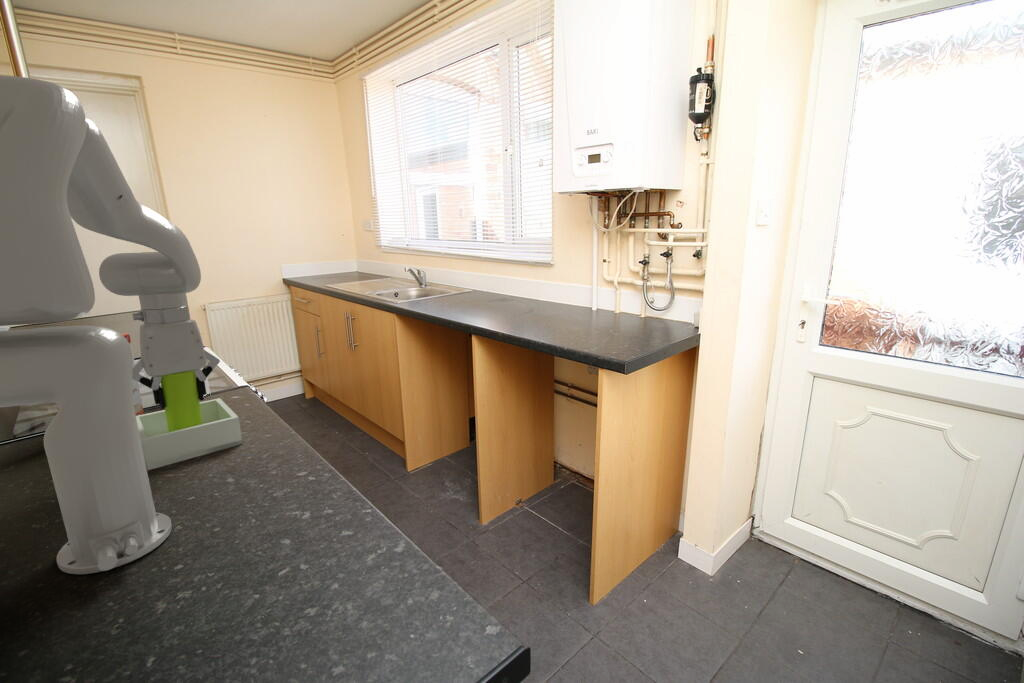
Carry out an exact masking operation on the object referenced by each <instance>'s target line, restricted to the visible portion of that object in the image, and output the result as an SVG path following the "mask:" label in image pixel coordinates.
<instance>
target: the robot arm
mask: <svg viewBox="0 0 1024 683" xmlns="http://www.w3.org/2000/svg"><path fill="white" fill-rule="evenodd" d="M73 221H74V222H75V223H76V225H78V226H80V227H82V228H84V229H86V230H89V231H90V232H94V233H96V234H99V235H103V236H106V237H110V238H112V239H113V238H114V239H117V240H121V241H125V242H129V243H132V244H137V245H140V246H144V247H147V248H149V249H152V250H154V251H145V252H122V253H121V252H120V253H114V254H112V255H108V256H107V257H106V258H104V259H103V260H102V262H101V263H100V266H99V269H98V276H99V280H100V282H101V284H102V286H103V287H104V288H105V289H106V290H108V291H109V292H110V293H113V294H115V295H117V296H125V297H135V296H138V299H139V304H140V310H139V311H137V312H136V313H131V314H132V320H133V321H141V322H143V323H142V324H140V326H139V346H140V356H141V357H140V358H139V360H138V361H137V362H136V363H135V365H134V367H133V358H132V351H133V350H132V351H131V347H130V344H129V342H128V341H127V339H126V338H125V337H124V336H123V335H122V334H120V333H121V332H119V331H117V330H115V329H111V328H109V327H105V326H100V325H99V326H98V325H65V326H63V325H61V326H48V327H36V328H35V327H34V328H28V329H25V328H23V329H13V330H12V329H9V330H0V408H7V407H8V408H9V407H18V406H26V405H27V406H29V405H38V404H56V403H59V404H60V410H59V412H58V411H57V414H55V416H54V418H53V419H52V420H51V422H50V423H49V424H48V426H47V428H46V429H45V432H44V436H43V447H44V451H45V455H46V458H47V462H48V465H49V469H50V470H49V471H50V474H51V477H52V480H53V481H52V482H53V486H54V489H55V494H56V498H57V500H58V501H57V502H58V504H59V508H60V512H61V517H62V520H63V525H64V527H65V528H64V529H65V531H66V535H67V536H66V537H67V539H68V541H67V542H66V543H65V544H64V545H62V547H61V548H60V550H59V551H58V552H57V555H56V564H57V567H58V569H59V570H61V572H64V573H65V574H72V575H89V574H95V573H100V572H106V571H109V570H112V569H115V568H117V567H121V566H124V565H126V564H129V563H132V562H133V561H135V560H137V559H141V558H142V557H143V556H145V555H147V554H149V553H151V552H152V551H153V550H155V549H156V548H158V547H159V546H160V545H161V544H162V543H163V542H164V541H166V539H167V538H168V537H169V536H170V533H171V531H172V530H173V528H172V527H173V525H172V520H171V518H170V517H169V516H168V515H167V514H164V513H161V512H156V507H155V503H154V499H153V493H152V488H151V483H150V479H149V475H148V469H147V467H146V464H145V459H144V454H143V449H142V444H141V439H140V435H139V430H138V425H137V420H136V415H135V409H134V401H133V388H132V379H133V380H135V381H138V383H139V384H141V385H143V386H145V387H147V388H149V389H151V390H152V394H153V400H154V405H155V406H156V405H159V407H160V408H161V410H162V409H163V410H165V407H166V405H165V399H164V394H163V389H162V387H161V378H162V376H166V375H170V374H175V373H181V372H189V371H194V373H195V375H196V382H197V389H198V396H199V400H201V401H200V402H203V401H205V398H204V396H203V395H206V388H205V382H204V381H205V380H206V378H207V377H209V376H210V374H211V373H212V372H213V370H214V369H215V368H216V367H217V365H219V363H220V362H221V361H220V359H219V358H218V357H216V356H215V355H213V354H211V353H210V352H209V351H206V349H205V347H204V343H203V340H202V334H201V330H200V331H199V329H200V327H199V325H198V323H197V321H196V320H195V319H191V315H190V308H189V303H188V298H187V293H188V294H189V293H192V292H193V291H196V290H197V288H198V287H199V286H200V284H201V279H202V272H201V268H200V264H199V261H198V258H197V256H196V254H195V252H194V250H193V248H192V247H193V246H192V245H191V243H190V240H189V239H188V237H187V236H186V234H185V233H184V232H183V231H182V229H180V228H179V227H178V226H177V225H176V224H174V223H173V222H171V221H170V220H169V219H167V218H166V217H165V216H163V215H161V214H160V213H158V212H156V211H155V210H153V209H152V208H150V207H148V206H146V205H144V204H142V203H140V202H138V200H137V199H136V197H135V195H134V193H133V191H132V190H131V187H130V185H129V182H128V181H127V180H126V178H125V176H124V174H123V172H122V170H121V168H120V166H119V164H118V161H117V160H116V158H115V155H114V154H113V152H112V150H111V148H110V146H109V144H108V142H107V140H106V139H105V137H104V134H103V133H102V130H100V128H99V127H98V126H97V125H96V124H95V122H94V121H92V120H91V119H90V118H88V117H87V116H86V114H85V111H84V108H83V104H82V103H81V102H80V100H79V99H78V97H77V96H76V95H75V93H73V91H70V90H69V89H67V88H66V87H64V86H62V85H59V84H56V83H53V82H50V81H46V80H41V79H37V78H31V77H22V76H18V75H17V76H16V75H3V74H0V327H3V326H4V327H5V326H20V325H21V326H22V325H23V326H24V325H33V324H34V325H38V324H50V323H58V322H59V323H60V322H67V321H72V320H75V319H79V318H81V317H83V316H85V315H87V314H88V313H89V312H90V311H91V310H92V309H93V307H94V305H95V302H96V297H95V294H96V293H95V287H94V282H93V280H92V276H91V273H90V270H89V267H88V264H87V262H86V259H85V255H84V253H83V249H82V247H81V243H80V240H79V238H78V235H77V232H76V229H75V226H74V223H73ZM198 327H199V328H198ZM207 360H208V361H209V362H208V363H207ZM202 368H203V369H202ZM143 369H144V372H145V374H146V375H147V376H149V377H151V378H149V377H146V376H145V375H142V374H140V372H142V370H143ZM200 369H202V371H201V370H200Z"/></svg>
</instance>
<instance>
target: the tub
mask: <svg viewBox="0 0 1024 683" xmlns="http://www.w3.org/2000/svg"><path fill="white" fill-rule="evenodd" d="M199 403H200V410H201V417H202V424H201V425H197V426H193V427H189V428H185V429H181V430H177V431H172V432H169V431H168V425H167V418H166V412H165V409H163V410H162V409H161V410H158V411H153V412H148V413H144V414H143V415H138V416H136V420H137V425H138V430H139V435H140V439H141V444H142V449H143V454H144V459H145V464H146V468H147V471H151V470H155V469H158V468H162V467H165V466H168V465H169V466H170V465H173V464H176V463H180V462H184V461H187V460H190V459H194V458H197V457H200V456H205V455H208V454H212V453H215V452H219V451H223V450H227V449H230V448H233V447H236V446H242V445H243V443H244V442H243V437H242V436H243V435H242V431H241V424H240V419H239V416H238V415H237V414H236V412H234V411H233V410H232V409H231V408H230V407H229V406H228V405H227V404H226V403H225V401H223V400H222V399H221V398H220V397H218V398H213V399H210V400H203V401H199Z"/></svg>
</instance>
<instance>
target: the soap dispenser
mask: <svg viewBox="0 0 1024 683" xmlns="http://www.w3.org/2000/svg"><path fill="white" fill-rule="evenodd" d="M160 387H161V388H162V389H163V394H164V399H165V405H166V407H165V408H164V410H165V412H166V418H167V425H168V431H169V432H172V431H177V430H181V429H185V428H189V427H193V426H197V425H201V424H202V417H201V410H200V403H199V402H200V401H199V396H198V389H197V382H196V375H195V373H194V371H189V372H181V373H175V374H170V375H166V376H162V378H161V382H160Z"/></svg>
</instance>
